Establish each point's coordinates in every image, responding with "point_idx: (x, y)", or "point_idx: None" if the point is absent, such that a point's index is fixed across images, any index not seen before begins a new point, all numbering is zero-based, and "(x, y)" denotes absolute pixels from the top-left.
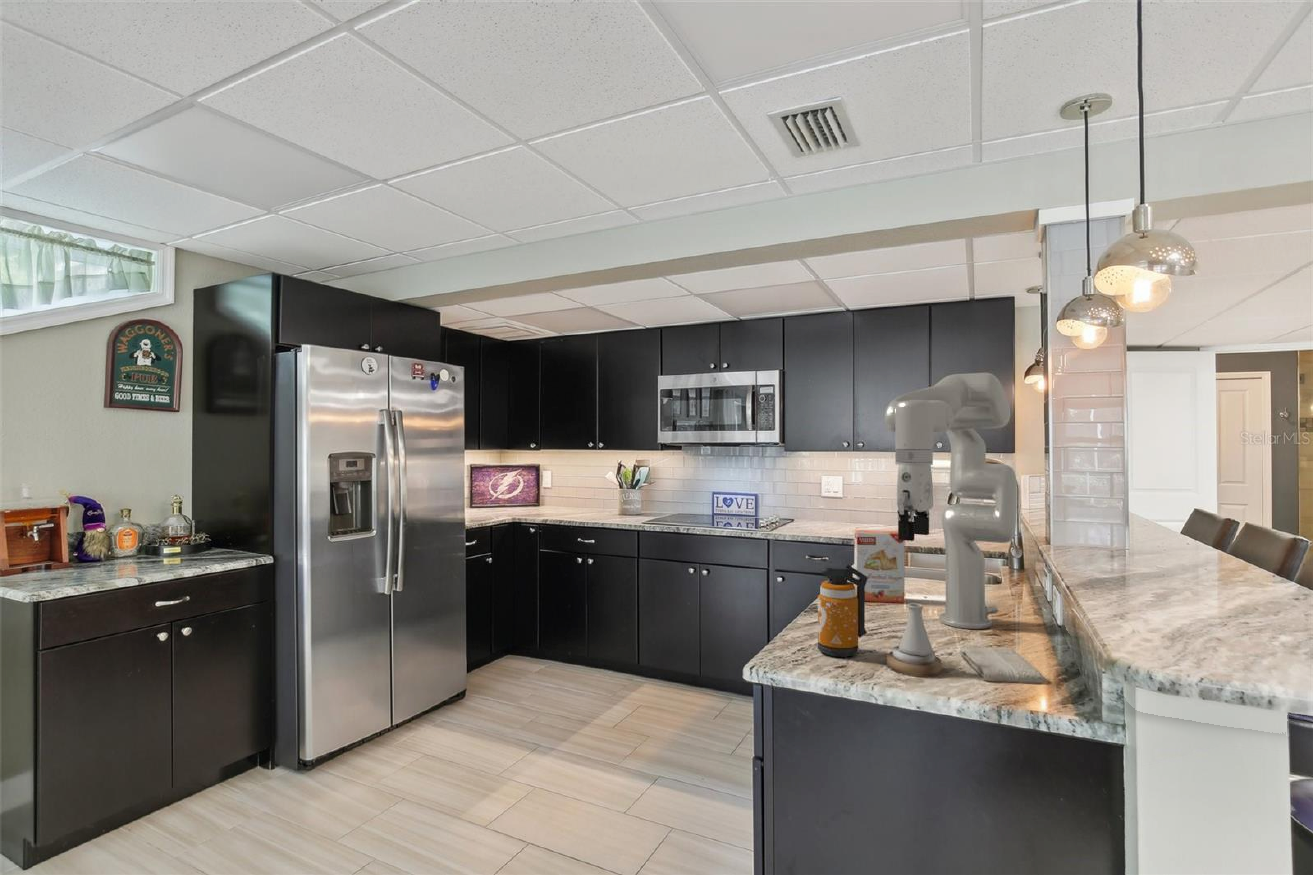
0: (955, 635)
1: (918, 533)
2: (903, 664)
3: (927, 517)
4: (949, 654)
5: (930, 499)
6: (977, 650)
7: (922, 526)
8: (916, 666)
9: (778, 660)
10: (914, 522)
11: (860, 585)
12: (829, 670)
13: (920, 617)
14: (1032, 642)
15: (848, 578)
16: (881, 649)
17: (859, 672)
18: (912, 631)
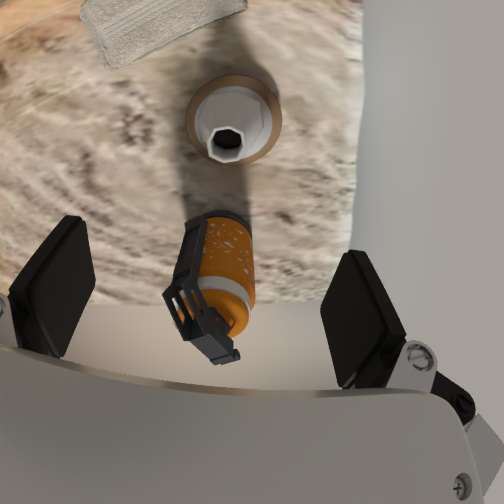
0: (29, 110)
1: (92, 264)
2: (278, 131)
3: (25, 295)
4: (126, 83)
5: (22, 479)
6: (126, 37)
7: (68, 275)
8: (278, 110)
9: (296, 287)
10: (72, 328)
11: (195, 284)
12: (308, 226)
13: (235, 124)
14: (10, 16)
15: (209, 315)
16: (165, 184)
17: (299, 189)
18: (251, 132)
